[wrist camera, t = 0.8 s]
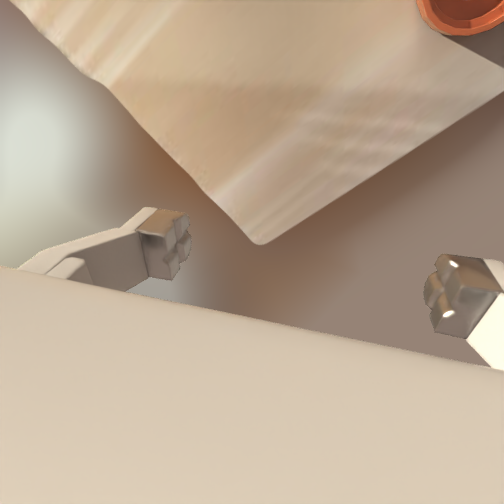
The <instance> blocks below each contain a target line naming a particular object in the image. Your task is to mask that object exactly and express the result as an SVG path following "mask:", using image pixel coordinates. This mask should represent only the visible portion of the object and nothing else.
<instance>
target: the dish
mask: <svg viewBox="0 0 504 504" xmlns="http://www.w3.org/2000/svg"><path fill="white" fill-rule="evenodd" d="M416 1H417V2H416V3H417V6H418V9H419V12H420V15H421V17H422V19H423V20H424V21H425V22H426V23H427V25H428V26H429V27H430V28H431V29H432V30H435V31H437V32H439V33H442V34H444V35H461V36H470V35H474V34H478V33H481V32H484V31H487V30H490V29H492V28H494V27H495V26H497V25H499V24H500V23H502V22H504V0H416Z"/></svg>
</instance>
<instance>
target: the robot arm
mask: <svg viewBox="0 0 504 504" xmlns="http://www.w3.org/2000/svg"><path fill="white" fill-rule="evenodd" d="M189 226H190V222H189V216H188V215H187V214H186V213H181V212H175V211H169V210H164V209H159V208H152V207H144V208H143V209H142V210H141V211H140V212H138V213H137V214H136V215H135V216H134V217H133V218H131V219H130V220H129V221H128V222H127V223H125V224H124V225H123V226H122V227H121V228H113V229H110V230H107V231H104V232H100V233H97V234H94V235H90V236H87V237H84V238H80V239H77V240H74V241H71V242H68V243H64V244H61V245H58V246H54V247H51V248H48V249H45V250H42V251H40V252H39V253H38V254H36V255H35V256H34V257H33V258H31V259H29V260H28V261H27V262H25V263H24V264H22V265H21V266H20V267H18V268H17V269H14V268H9V267H4V266H0V504H504V264H503V263H502V262H500V261H498V260H489V259H481V258H473V257H465V256H457V255H449V254H441V255H440V256H439V257H438V259H437V261H436V263H435V267H436V269H437V271H436V272H434V273H432V274H431V275H429V276H428V278H427V281H426V283H425V286H424V300H425V304H426V305H427V306H428V307H429V308H430V309H431V310H432V311H431V313H430V315H429V316H430V319H431V322H432V325H433V328H434V331H435V332H437V333H441V334H446V335H450V336H455V337H459V338H464V339H466V341H467V342H468V343H469V344H470V345H471V346H472V347H473V348H474V349H475V350H476V351H477V353H478V354H479V355H480V356H481V357H482V358H483V359H484V360H485V361H486V362H487V363H488V364H489V365H490V366H491V367H492V368H490V367H485V366H480V365H476V364H471V363H466V362H461V361H456V360H451V359H447V358H442V357H437V356H432V355H428V354H422V353H418V352H413V351H408V350H404V349H399V348H393V347H389V346H384V345H379V344H375V343H370V342H365V341H360V340H355V339H350V338H346V337H341V336H336V335H331V334H326V333H322V332H317V331H312V330H307V329H302V328H298V327H293V326H288V325H283V324H278V323H274V322H269V321H264V320H259V319H254V318H249V317H245V316H240V315H235V314H230V313H225V312H221V311H216V310H211V309H206V308H201V307H196V306H191V305H187V304H182V303H177V302H172V301H168V300H162V299H158V298H153V297H148V296H144V295H139V294H134V293H129V292H125V291H127V290H129V289H130V288H132V287H134V286H136V285H137V284H139V283H141V282H142V281H144V280H146V279H148V277H153V278H159V279H165V280H173V278H174V277H175V275H176V274H177V272H178V271H179V269H180V263H182V262H184V261H186V259H187V258H188V256H189V253H190V250H191V244H192V241H191V235H190V234H189V233H188V231H187V228H188V227H189Z"/></svg>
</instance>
